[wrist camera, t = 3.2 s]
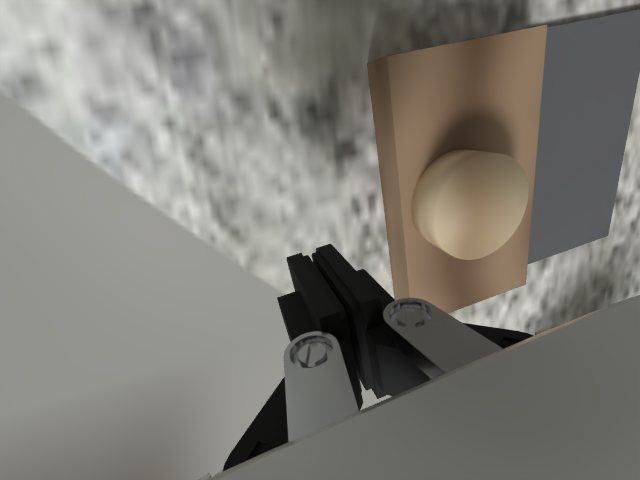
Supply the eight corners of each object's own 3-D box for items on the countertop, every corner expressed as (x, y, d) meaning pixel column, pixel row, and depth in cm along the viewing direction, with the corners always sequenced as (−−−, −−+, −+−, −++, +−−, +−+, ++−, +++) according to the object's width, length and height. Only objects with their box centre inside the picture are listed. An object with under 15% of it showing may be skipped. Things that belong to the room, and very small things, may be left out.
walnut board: (511, 35, 16) (547, 24, 14) (500, 270, 22) (525, 284, 20) (367, 63, 15) (386, 55, 13) (395, 307, 20) (412, 326, 18)
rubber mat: (645, 8, 18) (652, 6, 17) (603, 234, 23) (607, 235, 23) (511, 35, 16) (516, 33, 16) (500, 270, 22) (504, 272, 21)
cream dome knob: (497, 138, 16) (532, 141, 14) (494, 230, 18) (524, 242, 16) (407, 162, 15) (432, 168, 13) (414, 256, 17) (437, 272, 15)
